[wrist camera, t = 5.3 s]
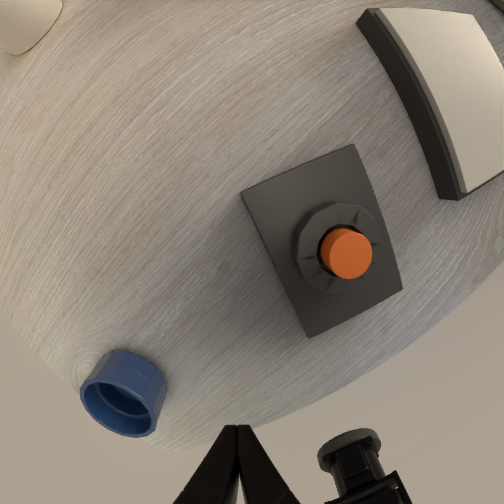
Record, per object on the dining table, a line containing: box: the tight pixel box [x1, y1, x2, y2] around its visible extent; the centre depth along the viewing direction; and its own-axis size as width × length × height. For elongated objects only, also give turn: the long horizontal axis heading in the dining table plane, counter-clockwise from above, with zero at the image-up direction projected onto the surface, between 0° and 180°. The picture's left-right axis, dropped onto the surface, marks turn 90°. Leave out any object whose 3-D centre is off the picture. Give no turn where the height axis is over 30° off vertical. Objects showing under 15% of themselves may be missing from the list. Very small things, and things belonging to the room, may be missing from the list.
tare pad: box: [240, 144, 403, 338], centre depth 17 cm, size 11×8×3 cm
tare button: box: [321, 228, 372, 279], centre depth 15 cm, size 3×3×2 cm
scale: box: [356, 8, 504, 201], centre depth 14 cm, size 16×15×3 cm
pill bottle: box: [0, 0, 62, 56], centre depth 7 cm, size 8×8×11 cm
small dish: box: [80, 351, 167, 438], centre depth 18 cm, size 6×6×4 cm
